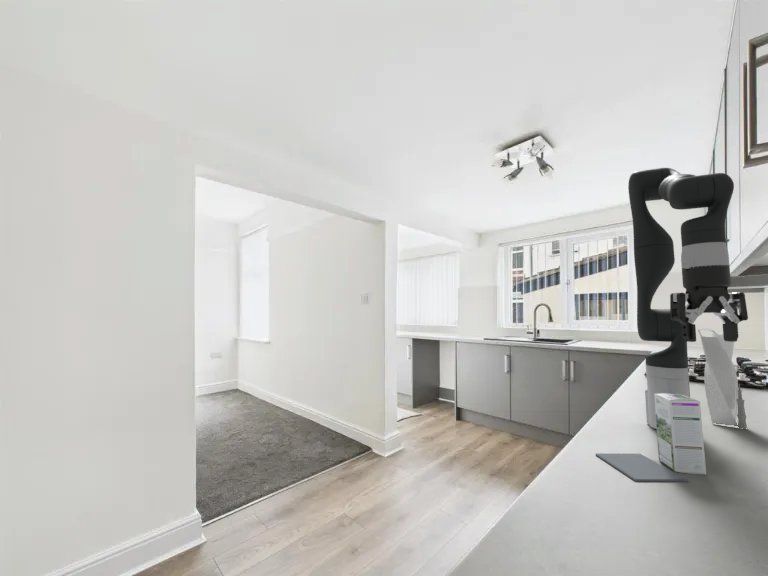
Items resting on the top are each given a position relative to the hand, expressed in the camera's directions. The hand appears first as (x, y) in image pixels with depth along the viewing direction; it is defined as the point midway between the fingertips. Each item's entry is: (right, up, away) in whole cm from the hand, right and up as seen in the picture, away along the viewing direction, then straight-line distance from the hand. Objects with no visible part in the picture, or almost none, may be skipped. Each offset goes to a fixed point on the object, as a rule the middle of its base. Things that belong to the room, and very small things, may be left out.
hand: (710, 341), depth 72 cm
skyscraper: (+30, -29, +27) cm, 50 cm away
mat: (-17, -26, -2) cm, 31 cm away
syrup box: (-8, -26, -2) cm, 27 cm away
